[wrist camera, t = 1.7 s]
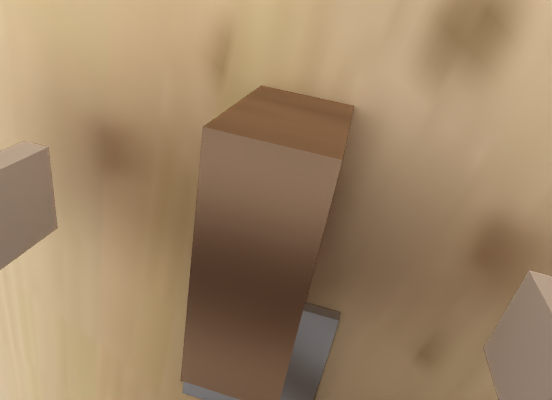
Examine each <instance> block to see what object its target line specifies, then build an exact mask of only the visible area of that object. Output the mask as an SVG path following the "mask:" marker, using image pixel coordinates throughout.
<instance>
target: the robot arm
mask: <svg viewBox="0 0 552 400" xmlns="http://www.w3.org/2000/svg"><path fill="white" fill-rule="evenodd" d="M57 228H58V226H57V218H56V209H55V200H54V192H53V183H52V174H51V166H50V157H49V148H48V147H46V146H43V145H39V144H35V143H31V142H27V141H23V142H20V143H18V144H15V145H13V146H11V147H8V148H6V149H4V150H1V151H0V270H1V269H2V268H4V267H5V266H6V265H8V264H9V263H10V262H12V261H13V260H15V259H16V258H17V257H19V256H20V255H21V254H23V253H24V252H25V251H27V250H28V249H30V248H31V247H32V246H34V245H35V244H36V243H38V242H39V241H40V240H42V239H43V238H45V237H46V236H47V235H49V234H50V233H51V232H53V231H54V230H55V229H57ZM484 352H485V355H486V358H487V362H488V365H489V369H490V372H491V375H492V379H493V382H494V386H495V389H496V393H497V396H498V399H499V400H552V276H550V275H546V274H542V273H538V272H534V271H530V270H529V271H528V273H527V274H526V276H525V278H524V279H523V281H522V283H521V284H520V286H519V288H518V290H517V291H516V293H515V295H514V296H513V298H512V300H511V302H510V303H509V305H508V307H507V308H506V310H505V312H504V313H503V315H502V317H501V319H500V320H499V322H498V324H497V325H496V327H495V329H494V331H493V332H492V334H491V336H490V337H489V339H488V341H487V342H486V344H485V346H484Z"/></svg>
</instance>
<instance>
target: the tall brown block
mask: <svg viewBox="0 0 552 400" xmlns="http://www.w3.org/2000/svg"><path fill="white" fill-rule="evenodd" d="M353 110H354V106H351V105H347V104H342V103H338V102H333V101H329V100H324V99H320V98H315V97H311V96H306V95H302V94H297V93H293V92H288V91H283V90H279V89H274V88H270V87H265V86H260V87H259V88H257V89H256V90H255V91H253V92H252V93H250V94H249V95H247V96H246V97H245V98H243V99H242V100H240V101H239V102H238V103H236V104H235V105H233V106H232V107H230V108H229V109H228V110H226V111H225V112H223V113H222V114H221V115H219V116H218V117H216V118H215V119H213V120H212V121H211V122H209V123H208V124H206V125H205V126H204V127H203V133H202V144H201V156H200V167H199V179H198V190H197V201H196V213H195V224H194V236H193V247H192V258H191V270H190V281H189V293H188V304H187V315H186V327H185V338H184V349H183V361H182V372H181V381H183V382H184V383H183V393H184V394H187V395H190V396H193V397H196V398H200V399H203V400H314V398H315V395H316V392H317V389H318V385H319V382H320V379H321V376H322V373H323V370H324V367H325V364H326V361H327V357H328V354H329V351H330V348H331V345H332V342H333V339H334V336H335V333H336V329H337V326H338V323H339V319H340V312H337V311H334V310H330V309H326V308H323V307H319V306H316V305H312V304H309V303H305V301H306V298H307V294H308V290H309V286H310V282H311V279H312V275H313V271H314V267H315V263H316V259H317V256H318V252H319V248H320V244H321V240H322V237H323V233H324V229H325V225H326V221H327V218H328V214H329V210H330V206H331V202H332V198H333V195H334V191H335V187H336V183H337V179H338V176H339V172H340V168H341V164H342V160H343V156H344V151H345V147H346V142H347V137H348V133H349V128H350V124H351V119H352V114H353Z"/></svg>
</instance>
